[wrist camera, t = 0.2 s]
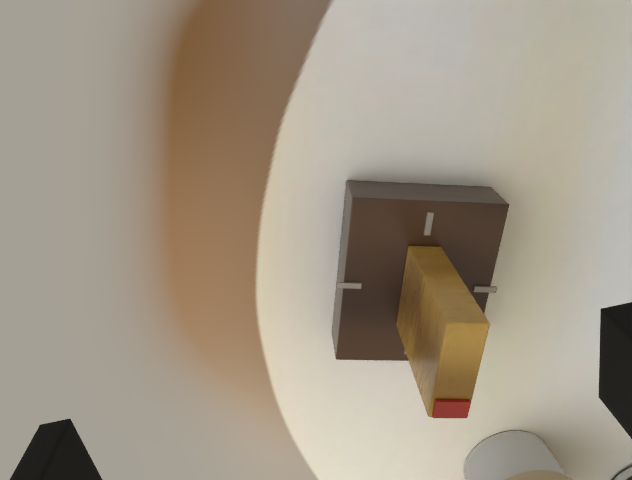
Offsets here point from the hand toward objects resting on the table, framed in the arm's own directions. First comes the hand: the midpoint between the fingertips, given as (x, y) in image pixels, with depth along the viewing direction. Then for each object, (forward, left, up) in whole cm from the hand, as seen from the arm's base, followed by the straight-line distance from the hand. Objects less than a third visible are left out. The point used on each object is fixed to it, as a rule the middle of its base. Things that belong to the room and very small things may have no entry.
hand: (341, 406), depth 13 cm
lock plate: (+2, +9, -21) cm, 23 cm away
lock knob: (+2, +9, -17) cm, 20 cm away
